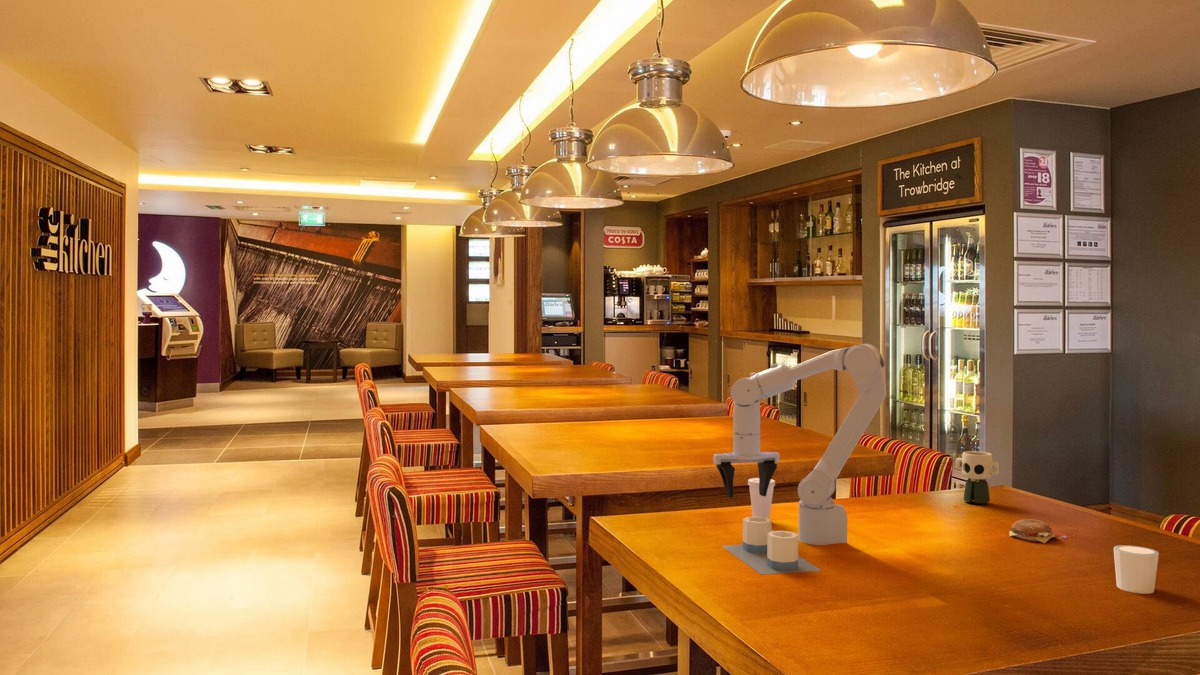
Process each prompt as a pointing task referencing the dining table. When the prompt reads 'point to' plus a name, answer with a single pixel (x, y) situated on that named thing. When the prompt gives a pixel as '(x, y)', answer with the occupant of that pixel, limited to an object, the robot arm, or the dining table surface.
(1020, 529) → the hamburger
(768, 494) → the smoothie
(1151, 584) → the white cup
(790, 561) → the seated sleeve
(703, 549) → the dining table surface
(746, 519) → the sleeve
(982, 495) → the character mug
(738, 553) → the pin board
